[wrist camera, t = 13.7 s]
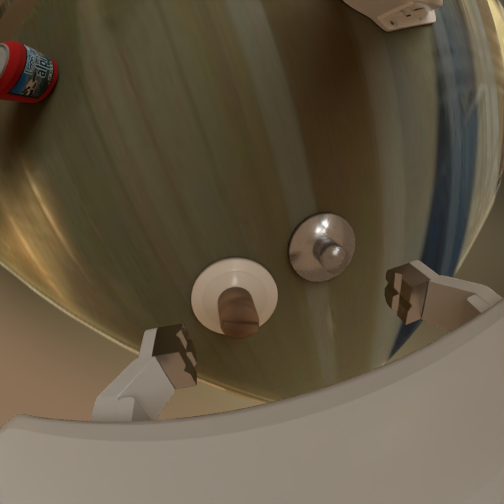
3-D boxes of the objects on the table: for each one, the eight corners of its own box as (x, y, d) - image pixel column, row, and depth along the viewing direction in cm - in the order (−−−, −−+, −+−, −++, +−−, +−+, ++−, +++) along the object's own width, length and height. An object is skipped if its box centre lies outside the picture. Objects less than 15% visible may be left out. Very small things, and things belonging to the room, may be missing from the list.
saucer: (259, 243, 36) (261, 247, 35) (285, 311, 41) (288, 317, 40) (176, 277, 36) (175, 282, 35) (212, 340, 41) (213, 345, 40)
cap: (256, 289, 37) (265, 313, 32) (247, 318, 39) (254, 344, 33) (221, 284, 36) (225, 308, 31) (214, 313, 38) (217, 340, 32)
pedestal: (344, 202, 36) (362, 210, 32) (357, 262, 40) (374, 277, 36) (278, 228, 36) (289, 240, 31) (298, 288, 40) (310, 306, 35)
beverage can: (60, 95, 24) (8, 82, 13) (23, 110, 23) (-31, 107, 12) (62, 51, 22) (16, 26, 11) (25, 68, 21) (-24, 54, 10)
